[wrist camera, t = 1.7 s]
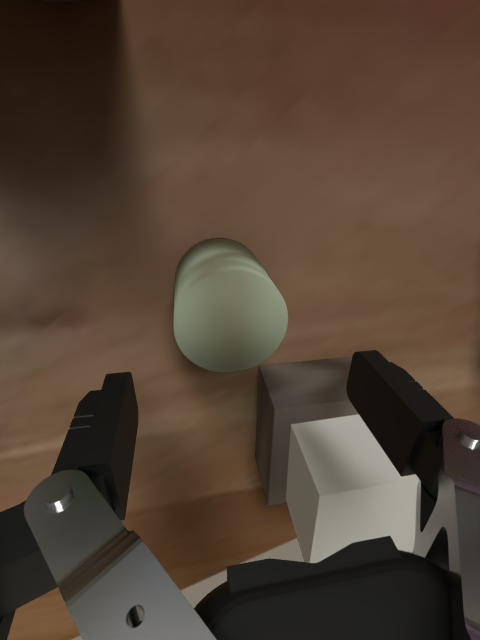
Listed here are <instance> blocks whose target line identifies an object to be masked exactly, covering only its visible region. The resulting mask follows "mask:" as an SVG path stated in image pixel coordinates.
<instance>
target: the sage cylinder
mask: <svg viewBox="0 0 480 640" xmlns="http://www.w3.org/2000/svg"><path fill="white" fill-rule="evenodd" d="M287 324H288V313H287V307H286V304H285V301H284V299H283V297H282V295H281V294H280V292H279V291H278V289H277V288H276V286H275V285H274V284H273V282H272V281H271V279H270V278H269V276H268V275H267V273H266V272H265V270H264V269H263V268H262V266H261V265H260V263H259V262H258V260H257V259H256V257H255V256H254V255H253V253H252V252H251V251H250V250H249V249H248V248H247V247H246V246H244V245H243V244H241V243H239V242H237V241H234V240H231V239H227V238H212V239H207V240H204V241H201V242H199V243H197V244H196V245H194V246H193V247H191V248H190V249H189V250H188V251H187V252H186V253H185V254H184V255H183V257H182V258H181V260H180V262H179V264H178V266H177V270H176V274H175V295H174V335H175V339H176V342H177V344H178V346H179V348H180V350H181V351H182V352H183V354H184V355H185V356H186V357H187V358H188V359H189V360H190V361H192V362H193V363H194V364H196V365H198V366H199V367H202V368H204V369H207V370H210V371H214V372H221V373H232V372H239V371H243V370H247V369H249V368H252V367H254V366H256V365H258V364H260V363H261V362H263V361H265V360H266V359H267V358H268V357H270V356H271V355H272V354H273V353H274V352H275V350H276V349H277V348H278V347H279V345H280V343H281V342H282V340H283V338H284V336H285V333H286V329H287Z"/></svg>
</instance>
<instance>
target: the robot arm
mask: <svg viewBox="0 0 480 640" xmlns="http://www.w3.org/2000/svg"><path fill="white" fill-rule="evenodd" d="M346 390H347V395H348V398H349V400H350V402H351V404H352V405H353V406H354V408H355V409H356V411H357V412H358V414H359V415H360V417H361V418H362V420H363V421H364V423H365V424H366V426H367V427H368V429H369V430H370V431H371V433H372V434H373V436H374V437H375V439H376V440H377V442H378V443H379V445H380V446H381V448H382V449H383V451H384V452H385V454H386V455H387V457H388V458H389V459H390V461H391V462H392V464H393V465H394V467H395V468H396V470H397V471H398V473H399V474H400V476H401V477H402V476H408V475H415V474H416V475H417V477H418V478H419V482H418V484H417V497H416V525H415V542H414V548H413V552H412V553H410V552H406V551H402V550H398V549H397V547H396V545H395V543H394V542H393V540H392V538H391V536H385V537H380V538H375V539H369V540H364V541H359V542H354V543H351V544H349V545H348V546H346V547H344V548H343V549H341V550H339V551H337V552H336V553H334V554H332V555H330V556H329V557H327V558H325V559H323V560H322V561H320V562H318V563H307V562H297V561H288V560H279V559H264V560H259V561H254V562H249V563H243V564H238V565H233V566H228V567H227V581H226V582H225V583H223V584H221V585H219V586H218V587H217V588H215V589H214V590H212V591H211V592H210V593H208V594H207V595H206V596H205V597H204V598H203V599H202V600H201V601H200V602H199V603H198V604H197V606H196V607H195V608H194V609H193V607H192V606H191V605H190V604H189V602H188V601H187V599H186V598H185V597H184V595H183V594H182V593H181V591H180V590H179V589H178V587H177V586H176V585H175V583H174V582H173V580H172V579H171V578H170V576H169V575H168V574H167V572H166V571H165V570H164V568H163V567H162V566H161V564H160V563H159V562H158V560H157V559H156V558H155V556H154V555H153V554H152V552H151V551H150V550H149V548H148V547H147V546H146V544H145V543H144V542H143V540H142V539H141V538H140V537H139V535H138V534H137V533H136V532H134V531H133V530H132V531H130V532H129V531H128V530H127V529H126V528H125V526H124V525H123V524H122V522H121V521H120V520H125V514H126V507H127V500H128V492H129V485H130V478H131V471H132V464H133V457H134V450H135V442H136V435H137V428H138V406H137V401H136V395H135V390H134V384H133V379H132V374H131V372H123V373H112V374H107V375H106V376H105V379H104V383H103V386H102V389H101V390H96V391H90V392H89V393H88V394H87V395H86V396H85V397H84V398H83V399H82V400H81V401H80V402H79V404H78V407H77V409H76V412H75V414H74V419H73V420H72V422H71V425H70V430H68V433H67V435H66V438H65V441H64V443H63V446H62V448H61V451H60V454H59V456H58V459H57V462H56V464H55V467H54V469H53V472H52V474H51V476H49V477H47V478H46V479H44V480H43V481H41V482H40V483H39V484H38V485H37V486H36V487H35V488H34V489H33V490H32V492H31V493H30V494H29V496H28V498H27V500H26V501H24V502H22V503H21V504H19V505H16V506H14V507H12V508H9V509H7V510H5V511H2V512H0V640H7V637H8V634H9V631H10V627H11V624H12V621H13V617H14V614H15V610H16V609H17V608H19V607H21V606H23V605H24V604H26V603H28V602H30V601H32V600H34V599H36V598H38V597H40V596H41V595H43V594H45V593H47V592H49V591H51V590H53V589H55V588H57V587H59V590H60V593H61V595H62V597H63V599H64V601H65V603H66V606H67V608H68V610H69V612H70V614H71V616H72V618H73V620H74V622H75V624H76V626H77V629H78V631H79V633H80V635H81V637H82V639H83V640H480V425H478V424H476V423H473V422H471V421H468V420H464V419H454V418H453V417H452V416H451V415H450V414H449V413H448V412H447V411H446V410H445V409H444V408H443V407H442V406H441V405H440V404H439V403H438V402H437V401H436V400H435V399H434V398H433V397H432V396H431V395H430V394H429V393H428V392H427V391H426V390H423V387H422V386H421V385H420V384H419V383H418V382H415V379H414V378H413V377H412V376H410V375H409V374H408V373H407V372H406V371H405V370H404V369H402V368H401V367H399V366H397V365H395V364H394V363H392V362H388V361H387V360H386V359H385V358H384V357H383V356H382V355H381V354H380V353H379V352H378V351H376V350H371V351H360V352H355V353H354V354H353V357H352V361H351V366H350V370H349V375H348V380H347V385H346Z"/></svg>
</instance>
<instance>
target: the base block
mask: <svg viewBox="0 0 480 640" xmlns="http://www.w3.org/2000/svg"><path fill="white" fill-rule="evenodd" d="M381 355H382V354H381ZM382 356H383V355H382ZM383 357H384V356H383ZM384 358H385V357H384ZM385 359H386V358H385ZM386 360H387V359H386ZM351 361H352V357H344V358H333V359H323V360H313V361H302V362H292V363H282V364H271V365H261V366H259V377H258V402H257V427H256V452H255V457H256V461H257V465H258V469H259V473H260V477H261V481H262V485H263V489H264V493H265V497H266V501H267V505H268V506H270V505H276V504H283V503H287V502H286V487H287V473H288V459H289V445H290V430H291V424H297V423H303V422H310V421H317V420H324V419H331V418H337V417H344V416H351V415H358V412H357V411H356V409H355V408H354V406H353V405H352V404H351V402H350V400H349V398H348V395H347V390H346V385H347V380H348V375H349V370H350V366H351ZM387 361H388V360H387ZM388 362H389V361H388Z"/></svg>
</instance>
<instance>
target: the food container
mask: <svg viewBox="0 0 480 640" xmlns="http://www.w3.org/2000/svg"><path fill="white" fill-rule="evenodd" d="M42 1H46V2H58V3H70V2H77V1H84V0H42Z"/></svg>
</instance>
